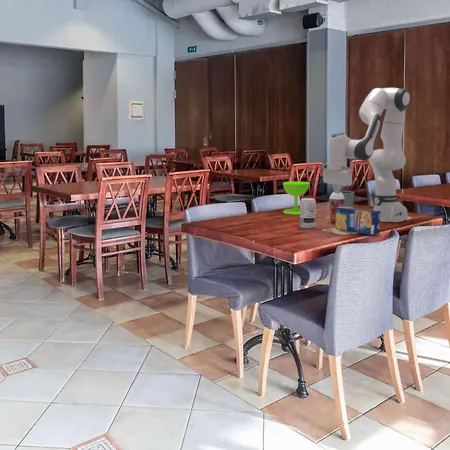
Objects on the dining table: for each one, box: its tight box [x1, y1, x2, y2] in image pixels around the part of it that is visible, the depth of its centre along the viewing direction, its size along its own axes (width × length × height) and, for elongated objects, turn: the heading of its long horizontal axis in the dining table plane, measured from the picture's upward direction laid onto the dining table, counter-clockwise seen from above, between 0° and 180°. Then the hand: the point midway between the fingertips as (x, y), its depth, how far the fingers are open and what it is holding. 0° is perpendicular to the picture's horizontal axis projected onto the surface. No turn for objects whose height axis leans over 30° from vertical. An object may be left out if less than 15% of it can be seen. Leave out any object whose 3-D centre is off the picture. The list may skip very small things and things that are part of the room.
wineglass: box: [282, 181, 310, 215], centre depth 345 cm, size 16×16×18 cm
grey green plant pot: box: [340, 190, 355, 208], centre depth 346 cm, size 10×10×12 cm
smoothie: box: [328, 191, 345, 224], centre depth 307 cm, size 8×8×20 cm
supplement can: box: [299, 197, 317, 229], centre depth 296 cm, size 8×8×15 cm
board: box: [321, 227, 361, 237], centre depth 284 cm, size 16×15×1 cm
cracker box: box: [334, 207, 381, 236], centre depth 280 cm, size 7×11×22 cm
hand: (337, 193), depth 286 cm, fingers closed
